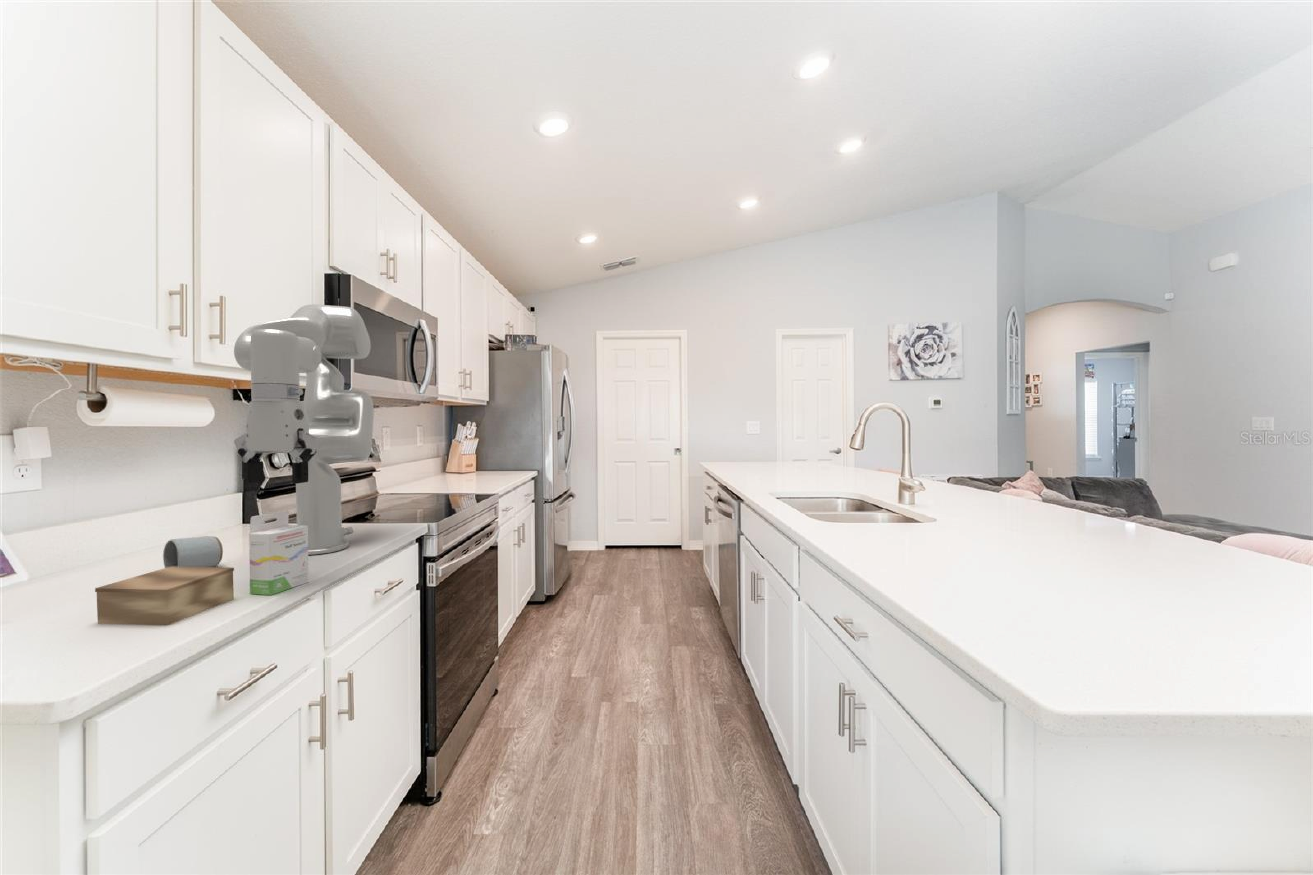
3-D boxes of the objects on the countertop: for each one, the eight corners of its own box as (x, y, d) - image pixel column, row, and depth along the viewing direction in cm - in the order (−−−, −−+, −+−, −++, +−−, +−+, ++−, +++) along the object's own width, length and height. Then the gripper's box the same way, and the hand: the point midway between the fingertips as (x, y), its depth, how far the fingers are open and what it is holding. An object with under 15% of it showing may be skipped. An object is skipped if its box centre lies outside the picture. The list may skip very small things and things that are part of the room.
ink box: (270, 596, 95) (268, 518, 95) (248, 594, 96) (246, 516, 96) (310, 581, 104) (309, 509, 103) (290, 580, 105) (288, 509, 104)
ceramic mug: (226, 568, 113) (224, 533, 113) (178, 578, 106) (177, 541, 105) (202, 563, 118) (201, 530, 117) (155, 572, 110) (154, 537, 110)
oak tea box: (172, 598, 94) (171, 566, 94) (234, 600, 94) (233, 567, 94) (96, 625, 82) (95, 588, 82) (167, 627, 82) (166, 589, 81)
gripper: (331, 395, 101) (333, 480, 102) (253, 396, 103) (254, 480, 103) (301, 392, 94) (302, 485, 94) (217, 393, 96) (219, 484, 96)
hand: (277, 482), depth 99 cm, fingers open, 9 cm apart
